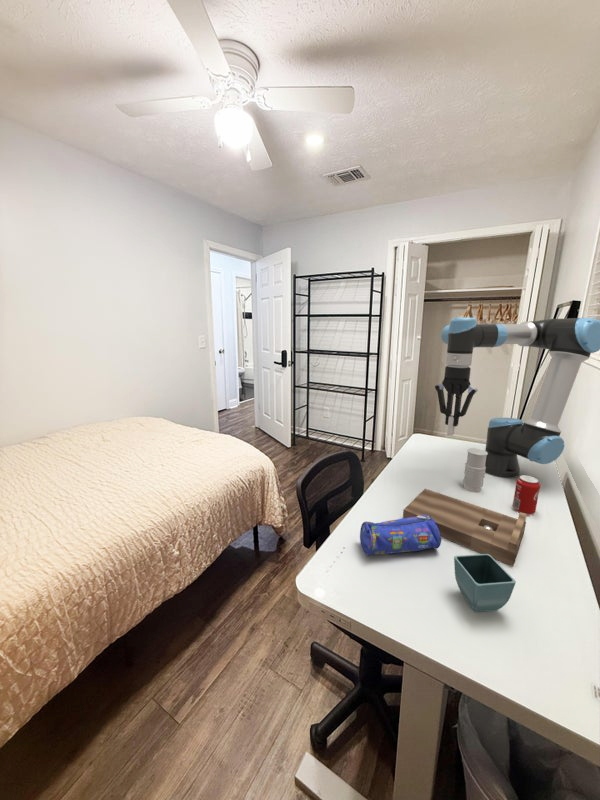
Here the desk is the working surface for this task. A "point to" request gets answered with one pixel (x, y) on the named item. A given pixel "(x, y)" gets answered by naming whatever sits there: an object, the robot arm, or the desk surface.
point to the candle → (475, 469)
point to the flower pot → (483, 582)
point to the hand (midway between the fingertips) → (450, 434)
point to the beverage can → (526, 495)
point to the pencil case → (399, 535)
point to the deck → (471, 525)
